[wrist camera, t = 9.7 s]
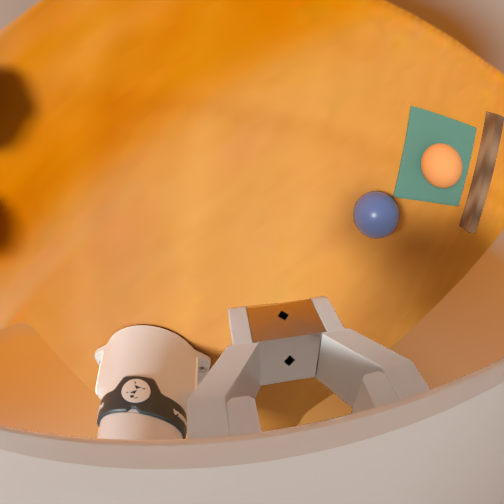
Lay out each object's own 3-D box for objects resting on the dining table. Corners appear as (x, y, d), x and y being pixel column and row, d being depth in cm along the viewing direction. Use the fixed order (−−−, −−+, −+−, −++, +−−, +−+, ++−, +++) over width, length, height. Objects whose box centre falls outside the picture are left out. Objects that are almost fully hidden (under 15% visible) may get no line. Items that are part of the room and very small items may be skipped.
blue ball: (347, 240, 39) (351, 217, 34) (355, 203, 41) (359, 177, 36) (390, 251, 37) (400, 229, 32) (396, 212, 39) (405, 188, 34)
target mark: (457, 205, 40) (458, 206, 40) (393, 196, 38) (393, 197, 38) (475, 127, 34) (476, 128, 34) (411, 105, 33) (411, 105, 32)
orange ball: (408, 177, 35) (424, 177, 39) (447, 196, 32) (458, 194, 35) (421, 134, 33) (435, 139, 36) (462, 151, 29) (471, 155, 32)
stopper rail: (465, 225, 42) (474, 233, 40) (459, 225, 42) (468, 232, 40) (492, 114, 33) (504, 117, 31) (486, 111, 33) (498, 114, 31)
